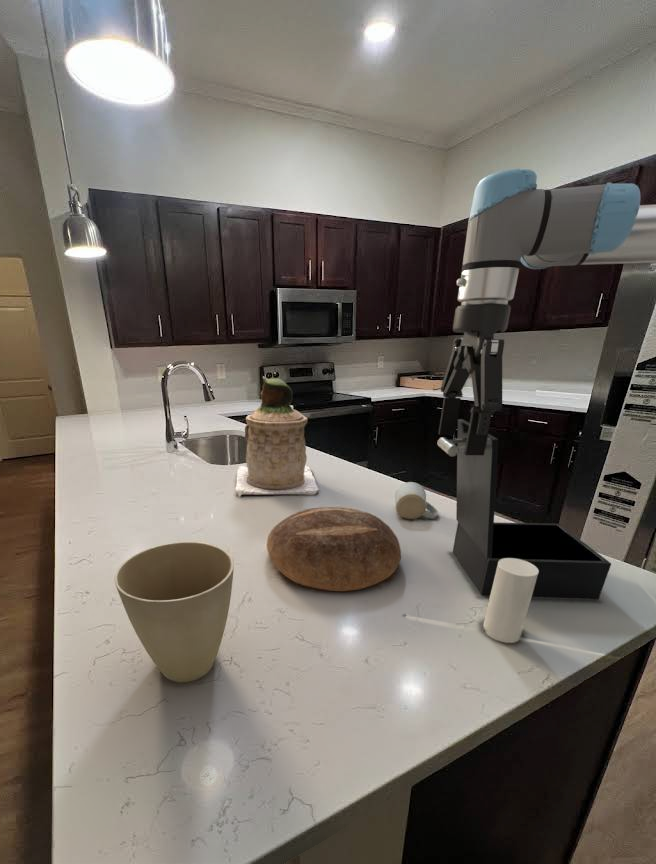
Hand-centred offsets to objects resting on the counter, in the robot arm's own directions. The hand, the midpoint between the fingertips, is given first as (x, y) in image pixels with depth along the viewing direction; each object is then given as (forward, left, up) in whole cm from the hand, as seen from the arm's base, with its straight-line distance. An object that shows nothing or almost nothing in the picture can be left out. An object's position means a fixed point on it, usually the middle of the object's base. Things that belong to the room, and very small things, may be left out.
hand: (458, 443), depth 71 cm
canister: (-10, +15, -26) cm, 31 cm away
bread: (+20, +1, -26) cm, 33 cm away
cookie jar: (+47, -40, -26) cm, 67 cm away
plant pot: (+33, +37, -26) cm, 56 cm away
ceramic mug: (+5, -28, -26) cm, 39 cm away
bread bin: (-15, -4, -26) cm, 30 cm away
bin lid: (-4, -1, -7) cm, 8 cm away
